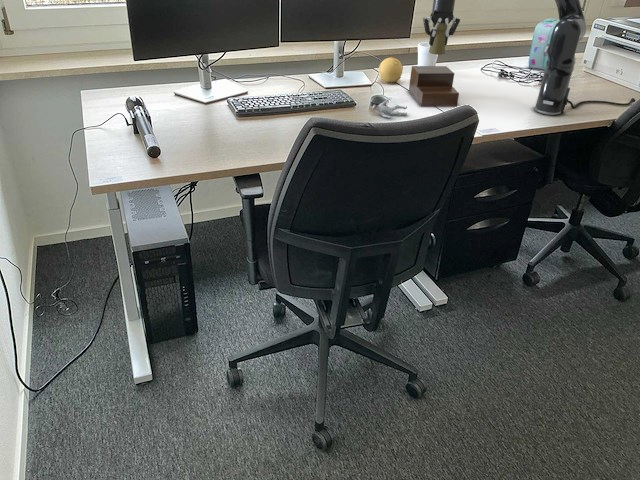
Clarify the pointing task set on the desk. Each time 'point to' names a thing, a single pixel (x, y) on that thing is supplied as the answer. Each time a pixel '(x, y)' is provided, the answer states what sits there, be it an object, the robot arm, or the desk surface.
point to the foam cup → (426, 55)
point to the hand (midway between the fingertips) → (437, 46)
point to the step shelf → (433, 86)
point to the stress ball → (390, 69)
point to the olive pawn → (439, 40)
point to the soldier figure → (388, 109)
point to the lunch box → (541, 43)
